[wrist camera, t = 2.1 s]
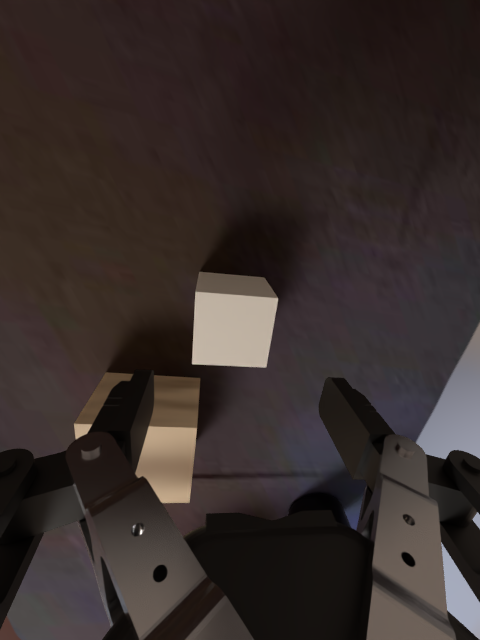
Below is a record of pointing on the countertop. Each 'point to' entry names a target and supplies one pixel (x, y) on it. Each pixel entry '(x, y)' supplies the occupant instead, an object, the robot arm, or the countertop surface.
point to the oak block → (159, 432)
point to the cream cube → (233, 320)
